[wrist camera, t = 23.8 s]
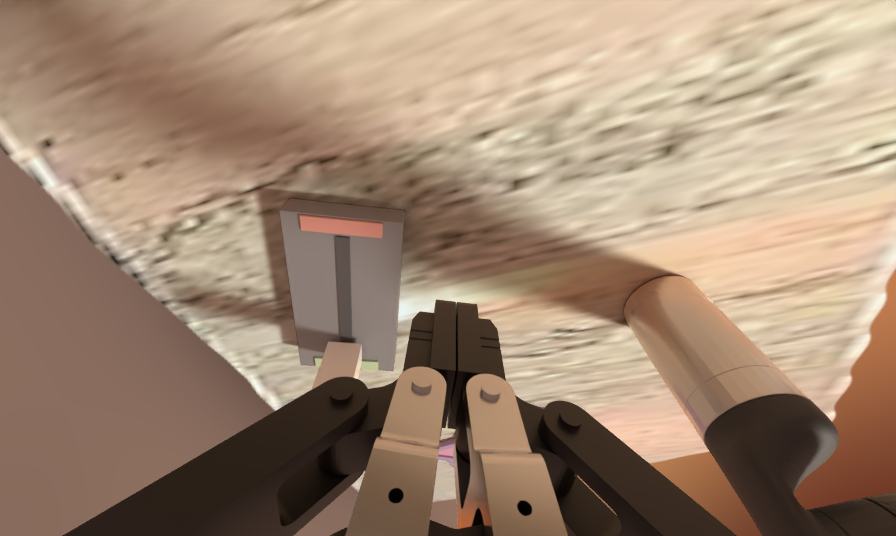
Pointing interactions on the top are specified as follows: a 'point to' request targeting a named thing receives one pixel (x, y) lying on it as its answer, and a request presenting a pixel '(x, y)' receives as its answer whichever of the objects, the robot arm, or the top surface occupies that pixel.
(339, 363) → the handle
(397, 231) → the switch base
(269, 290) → the top surface
